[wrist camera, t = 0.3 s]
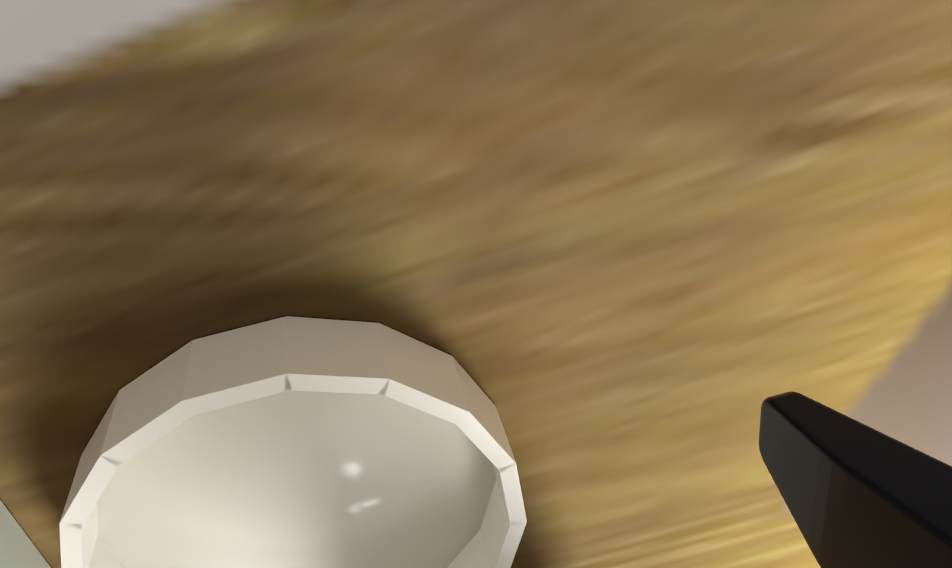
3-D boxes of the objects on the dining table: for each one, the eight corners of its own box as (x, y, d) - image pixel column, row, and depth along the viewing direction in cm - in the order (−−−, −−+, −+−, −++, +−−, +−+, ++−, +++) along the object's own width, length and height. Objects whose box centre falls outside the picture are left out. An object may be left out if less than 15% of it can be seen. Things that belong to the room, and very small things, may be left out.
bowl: (525, 558, 33) (545, 619, 30) (179, 660, 31) (170, 732, 29) (468, 269, 25) (489, 320, 22) (-3, 389, 23) (-38, 458, 21)
